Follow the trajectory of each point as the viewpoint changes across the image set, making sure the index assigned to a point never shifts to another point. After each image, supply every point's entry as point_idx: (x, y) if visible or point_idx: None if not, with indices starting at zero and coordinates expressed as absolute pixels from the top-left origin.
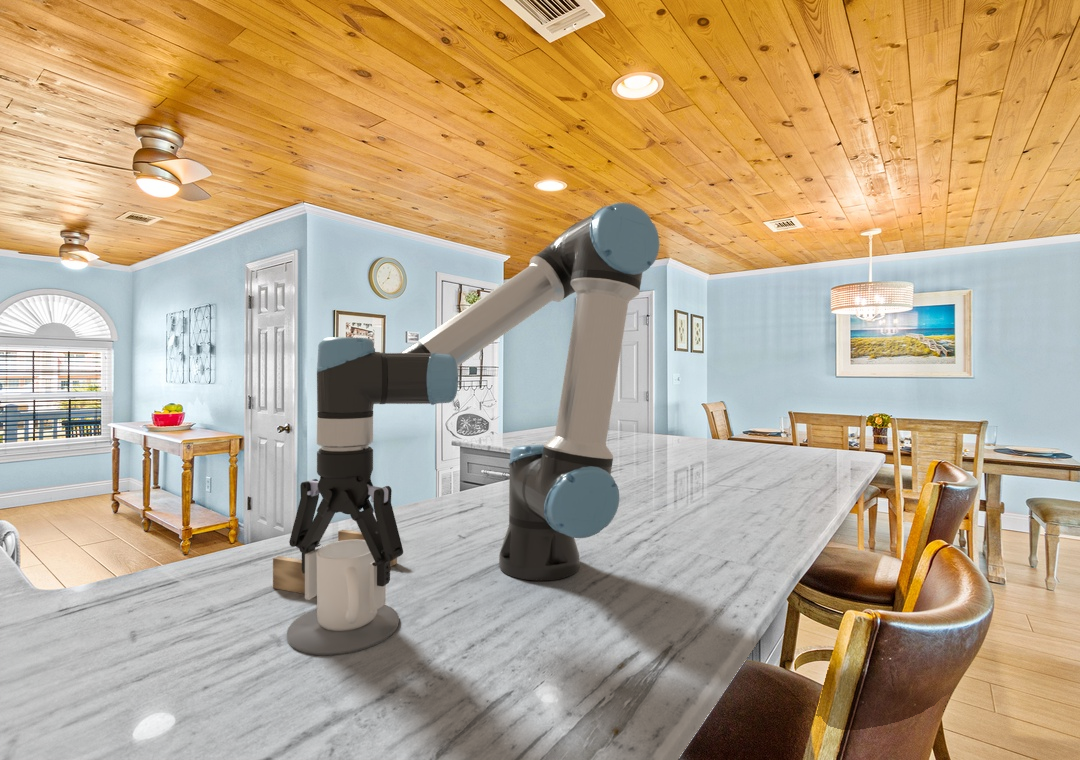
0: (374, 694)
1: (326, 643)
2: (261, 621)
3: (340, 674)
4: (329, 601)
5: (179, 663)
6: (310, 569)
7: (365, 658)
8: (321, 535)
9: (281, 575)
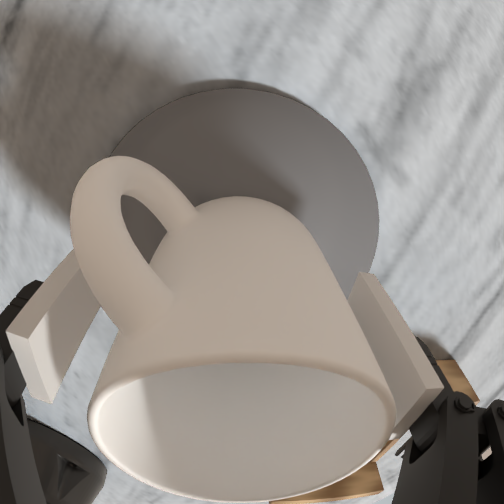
0: (32, 3)
1: (224, 128)
2: (447, 239)
3: (123, 26)
4: (255, 226)
5: (501, 60)
6: (395, 344)
7: (98, 106)
8: (401, 490)
9: (452, 379)
